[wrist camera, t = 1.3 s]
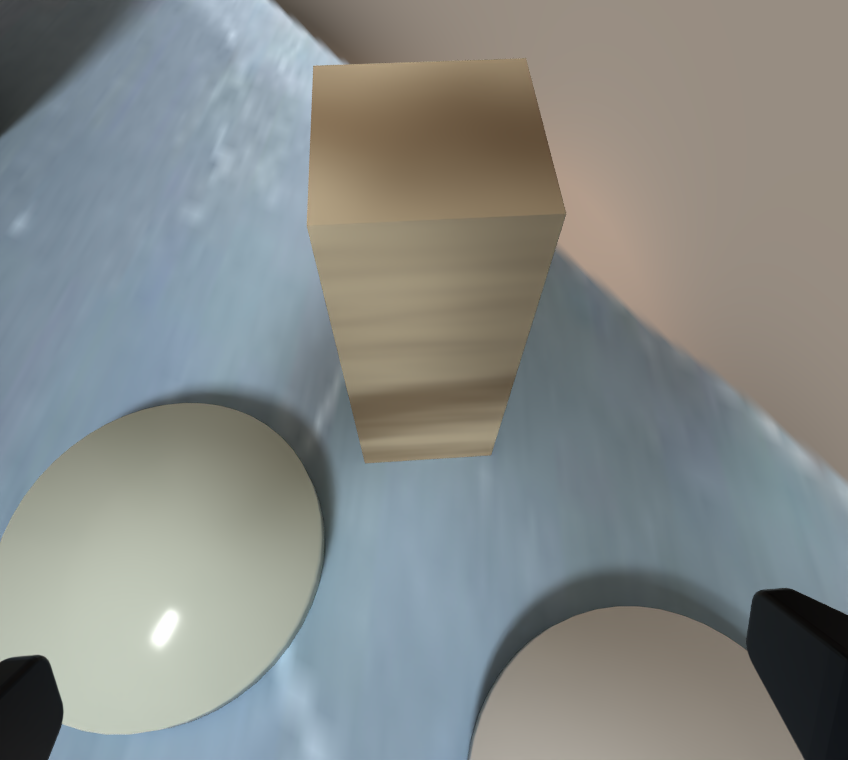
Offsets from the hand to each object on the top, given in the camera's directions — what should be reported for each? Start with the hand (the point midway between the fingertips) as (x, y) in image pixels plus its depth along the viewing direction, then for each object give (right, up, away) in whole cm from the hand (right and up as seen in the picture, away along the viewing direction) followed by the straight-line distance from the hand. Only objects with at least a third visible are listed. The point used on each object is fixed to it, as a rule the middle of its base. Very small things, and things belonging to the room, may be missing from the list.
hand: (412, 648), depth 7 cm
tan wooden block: (0, +3, +16) cm, 16 cm away
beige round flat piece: (-9, -3, +13) cm, 16 cm away
